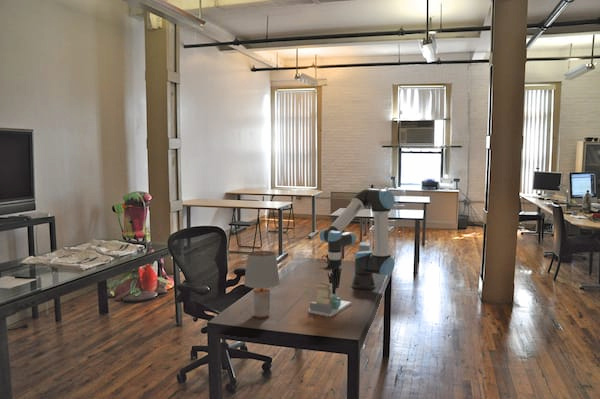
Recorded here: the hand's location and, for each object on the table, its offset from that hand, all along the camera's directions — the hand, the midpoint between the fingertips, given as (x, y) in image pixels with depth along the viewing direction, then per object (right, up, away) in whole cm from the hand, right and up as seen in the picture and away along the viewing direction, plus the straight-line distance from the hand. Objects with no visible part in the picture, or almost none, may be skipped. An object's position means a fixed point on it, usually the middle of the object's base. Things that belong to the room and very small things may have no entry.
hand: (334, 299), depth 277 cm
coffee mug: (+3, +5, +96) cm, 96 cm away
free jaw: (-2, -3, -4) cm, 5 cm away
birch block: (-6, -3, -10) cm, 12 cm away
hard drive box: (+28, +4, +85) cm, 90 cm away
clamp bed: (-3, -4, -4) cm, 7 cm away
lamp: (-40, -6, -17) cm, 44 cm away
